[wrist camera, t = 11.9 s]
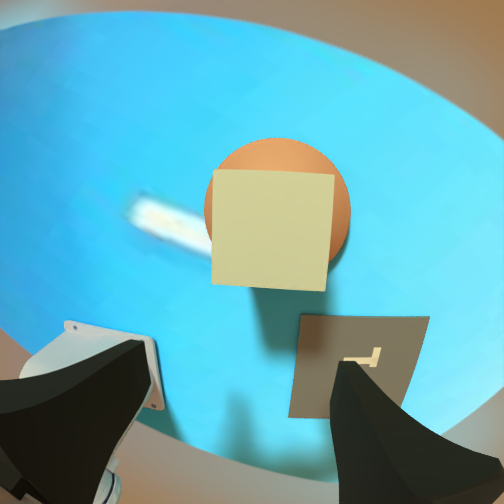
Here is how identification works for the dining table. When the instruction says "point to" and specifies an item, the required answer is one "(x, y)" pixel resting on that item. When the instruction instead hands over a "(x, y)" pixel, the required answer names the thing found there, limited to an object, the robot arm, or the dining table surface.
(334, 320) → the brown tile
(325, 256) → the block
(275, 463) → the dining table surface
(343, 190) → the orange disc
